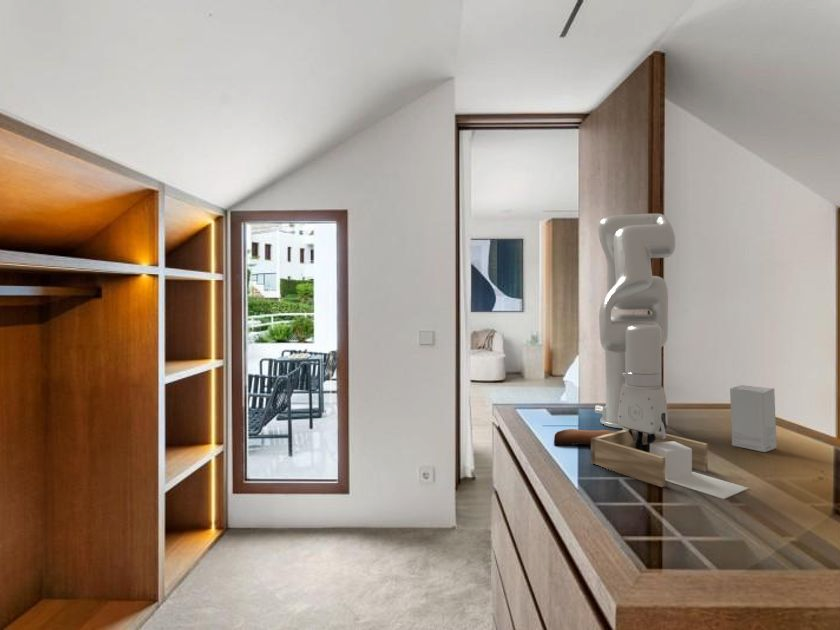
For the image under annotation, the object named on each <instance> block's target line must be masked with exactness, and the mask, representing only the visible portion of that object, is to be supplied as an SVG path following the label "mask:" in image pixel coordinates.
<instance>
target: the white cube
mask: <svg viewBox="0 0 840 630" xmlns="http://www.w3.org/2000/svg"><path fill="white" fill-rule="evenodd" d="M650 453H652V454H656V455H660V456H663V457H665V479H673V478H682V477H691V476H692V472H693V468H692V449H691V448H689V447H686V446H684V445H682V444H679V443H677V442H675V441H670V442H660V443H650Z"/></svg>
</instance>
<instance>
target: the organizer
mask: <svg viewBox="0 0 840 630" xmlns="http://www.w3.org/2000/svg"><path fill="white" fill-rule="evenodd" d="M656 433H657V432H656ZM670 441H675V442H677V443H679V444H682V445H684V446H686V447H689V448H691V449H692V470H693V469H694V470H696V471H697V470H698V471H701V472H703V473H704V472H708V470H709V467H708V465H709V461H708V459H709V443H706V442H702V441H698V440H694V439H690V438H685V437H682V436H681V437H680V436H677V435H673V434H669V433H666V438H664V439H656V440H655V441H654V442H653V443H660V442H670ZM591 463H593V464H596V465H599V466H601V467H600V468H602V467H604V468H603V469H605V468H606V470H608V469H609V470H608V471H611V470H612V472H614V471H615V472H614V473H618V474H620V475H623V476H625V477H626V476H627V477H630V478H633V479H635V480H639V481H643V482H645V483H648V484H651V485H653V486H657V487H660V488H664V487H666V481H665V457H663V456H660V455H656V454H652V453H649V452H645V451H642V450H638V449H636V443H635V442H634V441H633V437H632V436H631V434H630V433H629V432H627V431H625V430H623V429H622V430H618V431H616V432H614V433H610V434H606V435H602V436H598V437H594V438H591V445H590V464H591ZM593 464H592V465H593ZM596 465H595V466H596ZM599 466H598V467H599Z"/></svg>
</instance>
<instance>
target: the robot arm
mask: <svg viewBox="0 0 840 630" xmlns="http://www.w3.org/2000/svg"><path fill="white" fill-rule="evenodd" d="M598 237H599V242H600V245H601V248H602V251H603V252H604V256H605V259H606V265H607V266H606V267H607V270H606V272H607V273H606V274H607V276H606V280H607V282H606V284H607V291H606V292H607V293H606V294H605V296H604V298H603V299H602V301H601V304H600V307H599V313H598V321H599V322H598V323H599V324H598V325H599V339H600V344H601V347H602V348H603V350H604V356H605V359H604V360H605V405H604V406H603V405H599V404H596V405H595V407H594V413H596V414H601V415H602V416H600V421H599V422H600V424H602V425H603V424H604V425H603V426H606V427H610V428H615V429H622V430H625V431H627V432H629V433H630V434H631V436H632V437H633V441H634V442H635V443H636V449H638V450H642V451H645V452H649V453H650V443H653V442H654V441H655V440H656V439H664V438H666V434H667V432H666V430H667V429H668V423H669V422H668V421H669V420H668V416H669V415H668V414H669V413H668V404H667V397H666V392H665V388H664V387H663V386H662V347H663V346H665V345H666V343H667V341H668V334H669V333H668V332H669V331H668V330H669V293H668V285H667V283H666V280H665V279H664V278H663V277H661V276H657V275H653V271H652V262H651V259H661V258H663V259H664V258H669V257H671V256H672V255H673V254H674V252H675V249H676V235H675V232H674V228H673V227H672V225H671V223H670V221H669V220H668V218H667V217H666V215H664V214H662V213H639V214H638V213H637V214H635V213H634V214H617V215H610V216H605V217H604V218H602V219H601V220H600V221H599V224H598ZM613 309H614V310H619V311H620V310H621V311H635V310H636V311H638V310H640V311H641V310H642V311H643V310H646V311H649V314H648V313H647V314H630V313H627V314H614V315H612V311H613ZM656 432H657V433H656Z"/></svg>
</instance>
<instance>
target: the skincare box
mask: <svg viewBox="0 0 840 630" xmlns="http://www.w3.org/2000/svg"><path fill="white" fill-rule="evenodd" d="M729 393H730V394H729V397H730V398H729V399H730V401H729V402H730V422H731V423H730V424H731V445H732V446H733V447H737V448H743V449H748V450H753V451H757V452H762V453H767V452H769V451H773V450H776V449H777V422H776V419H777V418H776V402H775V401H776V396H775V388H773V387H761V386H752V385H745V384H741V385H737V386H734V387H731V388H729ZM732 446H731V447H732Z"/></svg>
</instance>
